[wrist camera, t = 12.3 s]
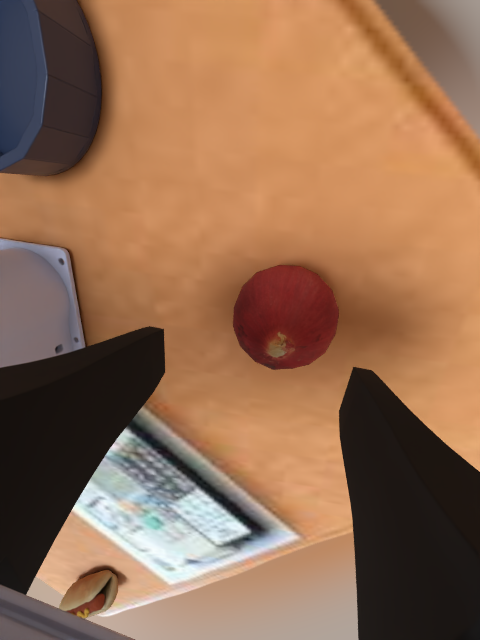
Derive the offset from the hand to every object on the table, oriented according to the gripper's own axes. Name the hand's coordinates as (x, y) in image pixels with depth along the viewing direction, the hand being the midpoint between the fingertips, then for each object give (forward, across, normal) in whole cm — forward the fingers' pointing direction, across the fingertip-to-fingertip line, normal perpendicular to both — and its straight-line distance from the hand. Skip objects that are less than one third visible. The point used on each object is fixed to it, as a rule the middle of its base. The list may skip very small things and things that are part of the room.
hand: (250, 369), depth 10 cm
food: (+10, +22, +54) cm, 59 cm away
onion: (+10, -1, 0) cm, 10 cm away
